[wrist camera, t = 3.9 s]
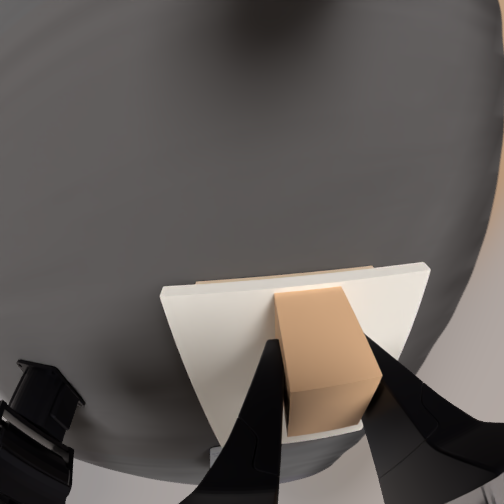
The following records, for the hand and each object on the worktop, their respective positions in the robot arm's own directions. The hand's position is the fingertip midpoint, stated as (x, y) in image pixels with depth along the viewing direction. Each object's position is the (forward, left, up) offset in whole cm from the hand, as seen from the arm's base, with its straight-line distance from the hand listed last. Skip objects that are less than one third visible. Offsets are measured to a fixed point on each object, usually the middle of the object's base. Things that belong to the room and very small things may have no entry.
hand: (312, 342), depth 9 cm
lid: (0, -5, -2) cm, 6 cm away
